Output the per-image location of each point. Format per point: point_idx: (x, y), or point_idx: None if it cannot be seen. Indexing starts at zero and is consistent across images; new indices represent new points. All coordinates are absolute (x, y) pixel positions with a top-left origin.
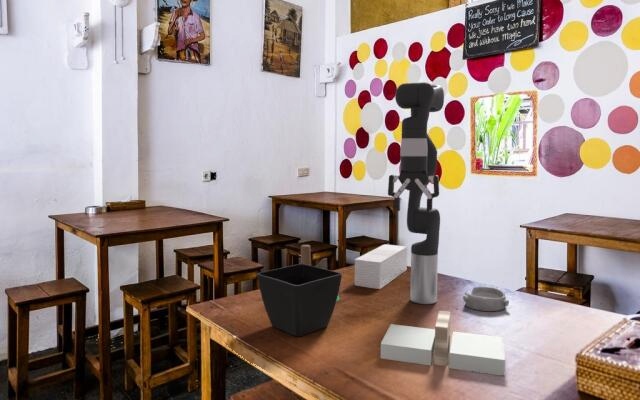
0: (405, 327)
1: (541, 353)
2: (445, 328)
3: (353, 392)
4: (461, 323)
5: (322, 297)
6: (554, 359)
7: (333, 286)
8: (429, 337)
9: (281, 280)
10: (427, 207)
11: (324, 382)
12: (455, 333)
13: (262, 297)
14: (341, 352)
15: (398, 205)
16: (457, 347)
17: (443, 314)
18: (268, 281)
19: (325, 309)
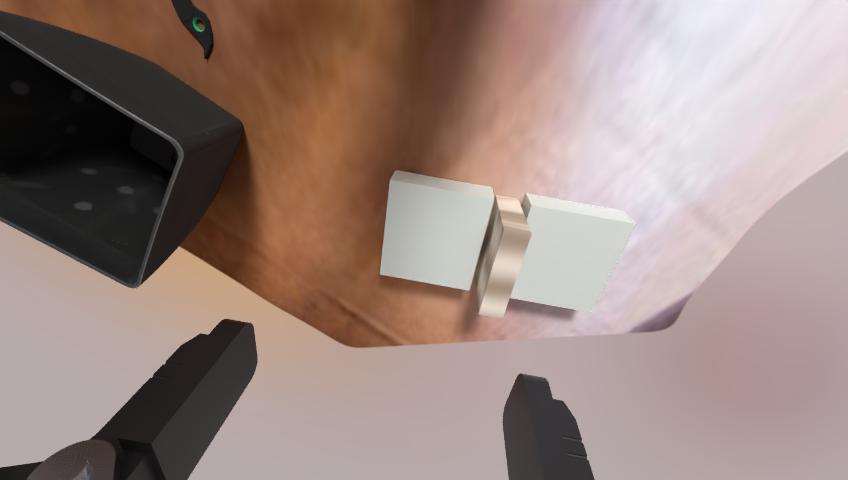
0: (424, 194)
1: (706, 208)
2: (498, 316)
3: (362, 344)
4: (589, 41)
5: (195, 192)
6: (715, 231)
7: (194, 172)
8: (473, 240)
9: (3, 103)
10: (514, 459)
11: (320, 327)
12: (534, 215)
13: (45, 173)
14: (315, 245)
15: (222, 415)
16: (520, 276)
17: (509, 253)
18: (24, 219)
19: (219, 163)
